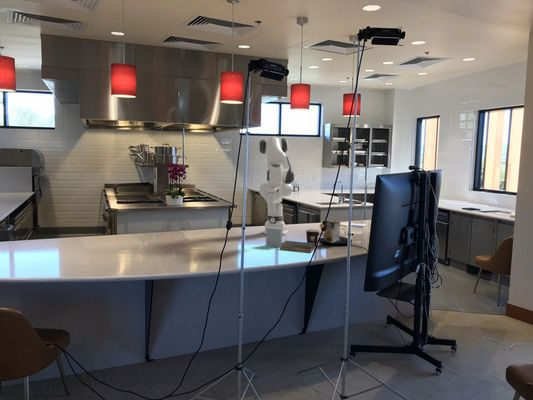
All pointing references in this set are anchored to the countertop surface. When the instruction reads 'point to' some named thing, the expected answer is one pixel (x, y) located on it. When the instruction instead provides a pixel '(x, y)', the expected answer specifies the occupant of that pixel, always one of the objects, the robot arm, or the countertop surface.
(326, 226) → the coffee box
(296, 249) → the brown flat box
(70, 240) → the countertop surface
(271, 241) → the grey rectangular block
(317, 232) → the coffee mug
